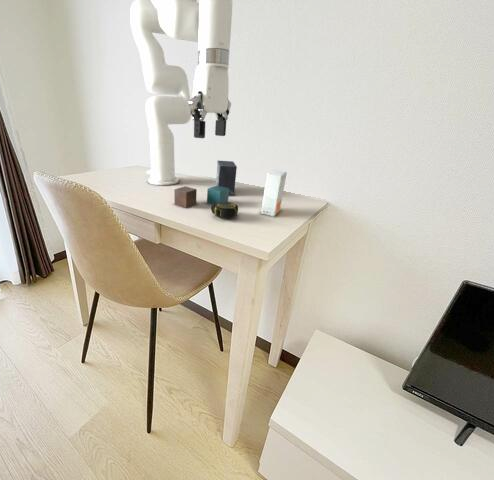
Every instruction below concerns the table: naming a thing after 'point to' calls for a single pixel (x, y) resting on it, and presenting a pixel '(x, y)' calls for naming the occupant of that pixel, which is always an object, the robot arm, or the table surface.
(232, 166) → the small box
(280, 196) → the cosmetic box
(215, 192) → the teal block
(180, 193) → the walnut block
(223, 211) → the tape measure
